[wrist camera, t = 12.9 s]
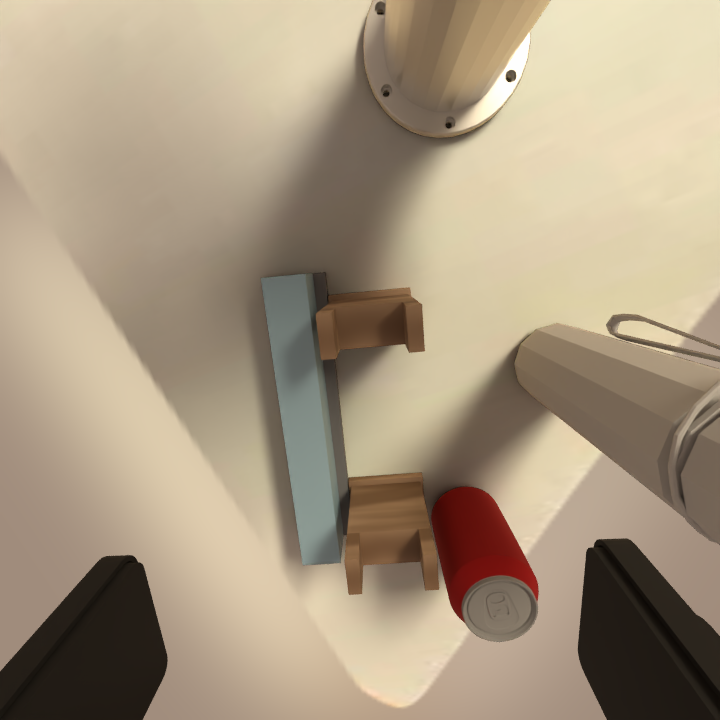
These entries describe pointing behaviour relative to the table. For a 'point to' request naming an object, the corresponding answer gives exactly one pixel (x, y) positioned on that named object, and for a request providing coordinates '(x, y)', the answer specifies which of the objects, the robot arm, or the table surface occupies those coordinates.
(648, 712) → the robot arm
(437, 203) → the table surface
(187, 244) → the table surface
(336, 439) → the mat
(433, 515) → the beverage can
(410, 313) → the post
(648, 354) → the water bottle
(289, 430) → the rail
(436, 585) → the post
